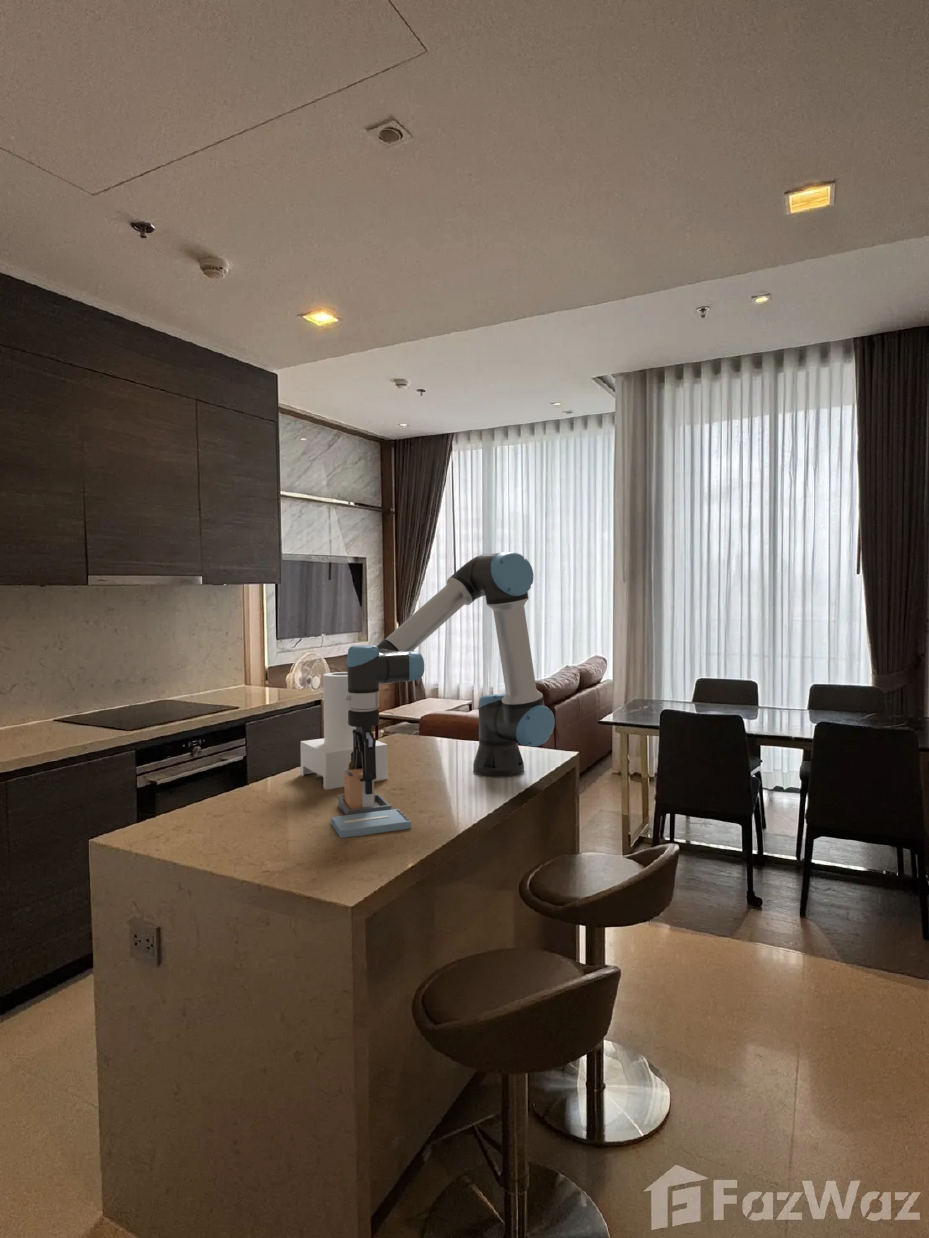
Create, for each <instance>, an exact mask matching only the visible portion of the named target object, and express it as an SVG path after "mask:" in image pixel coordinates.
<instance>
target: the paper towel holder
mask: <svg viewBox="0 0 929 1238" xmlns="http://www.w3.org/2000/svg"><path fill="white" fill-rule="evenodd" d="M322 680H323V681H322V682H323V736H324V737H323V738H317V739H308V740H301V741H300V776H302V777H304V775H310V774H315V773H316V774H318V775H319V776H321V777H323V779H322V780H323V789H324V790H326V791H328V790H332V789H337V788H338V789H339V788H344V771H345V770H349V764H350V762H351V753H352V752H353V733H352V731H353V729H356V727H352V726H350V725H349V724H348V711H349V710H350V708H349V707H348V700H346V696H348V674H347V671H339V672H338V671H337V672H328V673H327V672H326V673H323V678H322ZM375 753H376V779H374V782H379V781H383V780H388V778H389V777H388V776H389V774H388V771H389V770H388V768H389V767H388V764H389V763H388V761H389V760H388V744H387V743H384V742H381V741H379V740H377V739H376V746H375Z"/></svg>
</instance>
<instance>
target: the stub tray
mask: <svg viewBox="0 0 929 1238" xmlns="http://www.w3.org/2000/svg"><path fill="white" fill-rule="evenodd" d="M374 795H375V806H374V807H367V808H360V809H352V810H350V808H349V807H348V806H347V805H346V803H345V798H341V799H340V798H338V808H339V809H340V811H341V812H342V813H343V816H345V815H352V814H360V813H368V812H376V811H384V810H392V804H391V803H390V802H388V800H387V799H386V798H385V797H383V795H382V794H380V793H377V794H375V793H374Z"/></svg>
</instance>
